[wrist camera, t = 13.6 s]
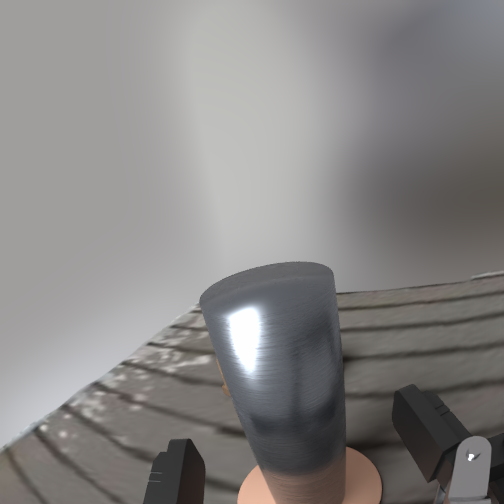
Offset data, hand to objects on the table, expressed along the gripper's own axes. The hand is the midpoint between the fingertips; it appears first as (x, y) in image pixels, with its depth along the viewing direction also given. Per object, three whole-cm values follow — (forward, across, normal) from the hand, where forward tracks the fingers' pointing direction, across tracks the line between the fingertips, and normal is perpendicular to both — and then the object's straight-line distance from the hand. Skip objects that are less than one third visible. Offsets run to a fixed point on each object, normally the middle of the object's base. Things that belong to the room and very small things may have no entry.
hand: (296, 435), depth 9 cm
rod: (+2, 0, +10) cm, 11 cm away
